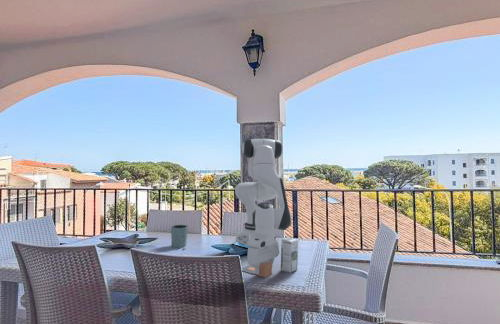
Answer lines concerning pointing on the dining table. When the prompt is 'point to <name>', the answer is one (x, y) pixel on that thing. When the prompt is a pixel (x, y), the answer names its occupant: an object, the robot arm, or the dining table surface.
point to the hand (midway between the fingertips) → (264, 270)
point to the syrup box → (289, 255)
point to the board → (249, 269)
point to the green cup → (179, 236)
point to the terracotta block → (265, 269)
